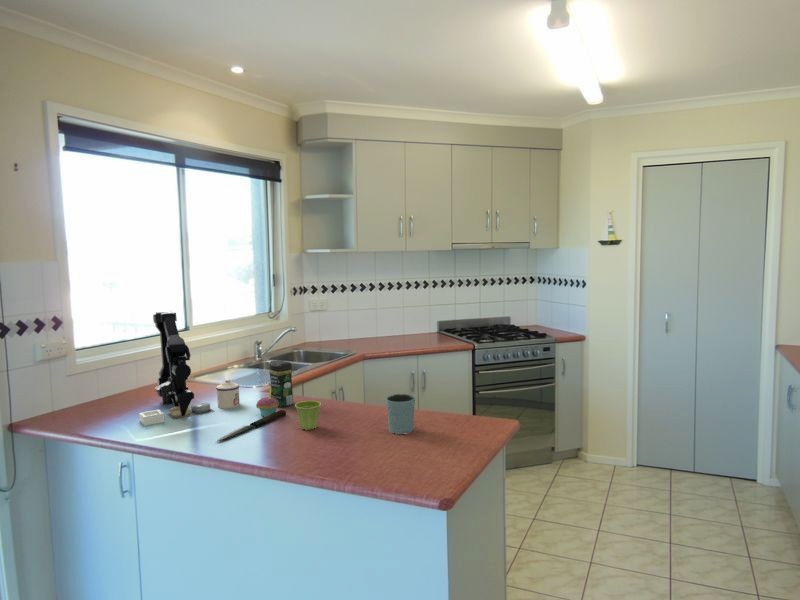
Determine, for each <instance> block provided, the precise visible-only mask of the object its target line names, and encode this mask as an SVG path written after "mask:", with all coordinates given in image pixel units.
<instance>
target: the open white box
mask: <svg viewBox="0 0 800 600" xmlns="http://www.w3.org/2000/svg"><path fill="white" fill-rule="evenodd" d="M138 415H139V422H140V423H141V424H142V425H143V426H144V427H145V426H150V425H155V424H161V423H164V422H165V416H164V415H165V413H164V412H163V411H161V410H160V409H159V408H158V409H154V410H148V411H143V412H139V414H138Z"/></svg>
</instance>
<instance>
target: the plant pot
mask: <svg viewBox="0 0 800 600" xmlns="http://www.w3.org/2000/svg"><path fill="white" fill-rule="evenodd" d="M321 405H322V403H321V402H320V401H317V400H304V401H298V402H297V403H295V404H294V407H295V409H296V411H297V416H298V422H299V428H300V429H301V430H303V429H305V430H304V431H309V430H315V429H317V428H318V425H319V424H318V423H319V413H320V409H321ZM314 428H315V429H314Z"/></svg>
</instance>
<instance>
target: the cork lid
mask: <svg viewBox="0 0 800 600" xmlns="http://www.w3.org/2000/svg"><path fill="white" fill-rule="evenodd" d="M190 409H191V407H190V405H189V406H188V409H187V411H186V414H185V415H184V416H187V415H189V414H190ZM169 413H170V415H171V417H184V416H182V415H181V411H180V407H179V406H176V407H174V406H173V407H171V408H170V409H169ZM171 417H170V418H171Z"/></svg>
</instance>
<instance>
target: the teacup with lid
mask: <svg viewBox="0 0 800 600" xmlns="http://www.w3.org/2000/svg"><path fill="white" fill-rule="evenodd" d="M216 396H217V397H216V398H217V401H216V402H217V408H218V409H223V410H224V409H226V410H227V409H234V408H237V407H239V406H240V405H241V403H240V385H239V384H238V383H235V382H233V381H231V380H230V378H229V379H225V380H224V382H222V383H221V384H218V385H217V386H216Z"/></svg>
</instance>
